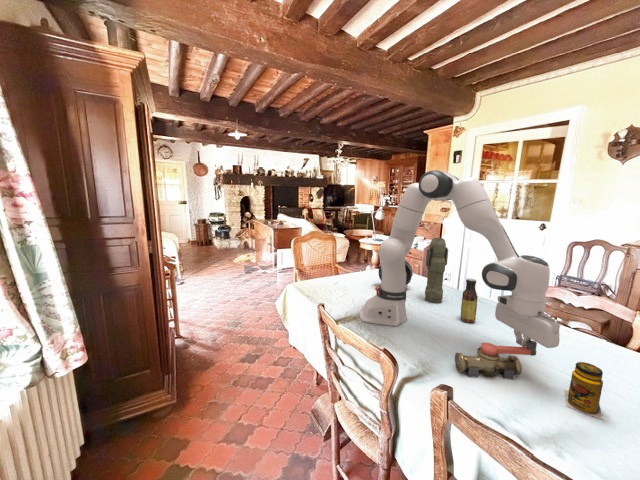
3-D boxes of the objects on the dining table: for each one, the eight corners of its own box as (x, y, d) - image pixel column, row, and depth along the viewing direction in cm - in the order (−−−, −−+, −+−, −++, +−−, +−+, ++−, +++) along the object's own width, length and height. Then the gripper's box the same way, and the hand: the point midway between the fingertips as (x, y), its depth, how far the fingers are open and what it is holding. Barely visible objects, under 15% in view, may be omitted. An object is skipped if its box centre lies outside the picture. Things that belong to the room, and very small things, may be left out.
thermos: (448, 302, 146) (453, 239, 140) (430, 304, 142) (435, 240, 137) (436, 296, 154) (441, 236, 148) (419, 298, 151) (423, 237, 145)
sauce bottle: (477, 324, 121) (482, 282, 118) (462, 322, 123) (466, 281, 119) (472, 317, 128) (476, 278, 124) (458, 316, 129) (462, 277, 126)
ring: (413, 291, 162) (415, 259, 159) (380, 291, 162) (381, 259, 159) (407, 285, 173) (409, 255, 169) (376, 285, 173) (377, 255, 170)
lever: (477, 347, 90) (479, 336, 89) (529, 350, 89) (531, 338, 88) (484, 355, 85) (486, 343, 85) (539, 358, 84) (541, 346, 83)
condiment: (565, 406, 74) (572, 367, 72) (564, 389, 81) (570, 353, 79) (603, 420, 70) (612, 379, 68) (598, 402, 76) (606, 363, 74)
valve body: (461, 376, 86) (464, 356, 85) (453, 364, 93) (455, 345, 91) (520, 380, 85) (523, 360, 84) (508, 367, 91) (511, 348, 90)
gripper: (569, 320, 77) (561, 363, 80) (509, 294, 97) (504, 329, 99) (550, 321, 76) (543, 365, 79) (494, 294, 96) (489, 330, 98)
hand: (521, 344), depth 89 cm, fingers closed
